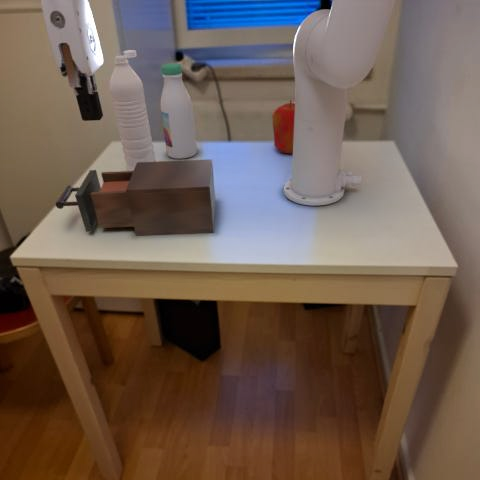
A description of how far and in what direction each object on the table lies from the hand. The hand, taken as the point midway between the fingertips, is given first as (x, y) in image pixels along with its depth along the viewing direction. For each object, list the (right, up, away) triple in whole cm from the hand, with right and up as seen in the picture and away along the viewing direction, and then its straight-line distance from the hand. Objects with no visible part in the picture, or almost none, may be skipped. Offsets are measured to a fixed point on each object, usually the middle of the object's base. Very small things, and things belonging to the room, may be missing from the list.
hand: (93, 118), depth 73 cm
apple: (+37, +9, +37) cm, 53 cm away
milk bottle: (+10, +8, +38) cm, 40 cm away
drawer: (0, -14, +12) cm, 18 cm away
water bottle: (+3, -2, +27) cm, 27 cm away
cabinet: (+12, -14, +13) cm, 23 cm away
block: (+1, -13, +11) cm, 17 cm away
